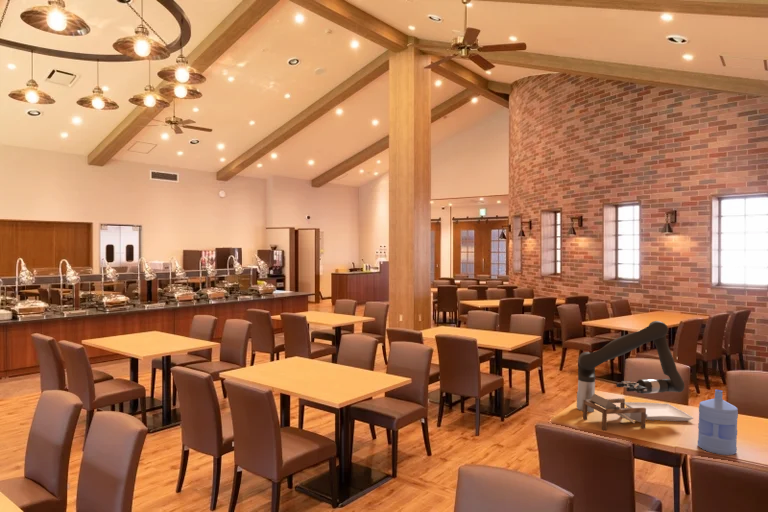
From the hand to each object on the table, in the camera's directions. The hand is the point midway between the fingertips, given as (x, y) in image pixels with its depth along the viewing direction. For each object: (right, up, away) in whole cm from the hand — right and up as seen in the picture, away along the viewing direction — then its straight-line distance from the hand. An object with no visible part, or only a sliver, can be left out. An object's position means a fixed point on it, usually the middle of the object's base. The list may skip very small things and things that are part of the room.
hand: (621, 387), depth 283 cm
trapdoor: (-6, -13, -1) cm, 15 cm away
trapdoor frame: (-5, -19, -1) cm, 20 cm away
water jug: (+29, -21, -34) cm, 50 cm away
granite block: (+4, -14, +1) cm, 15 cm away
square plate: (+28, -21, +16) cm, 38 cm away
